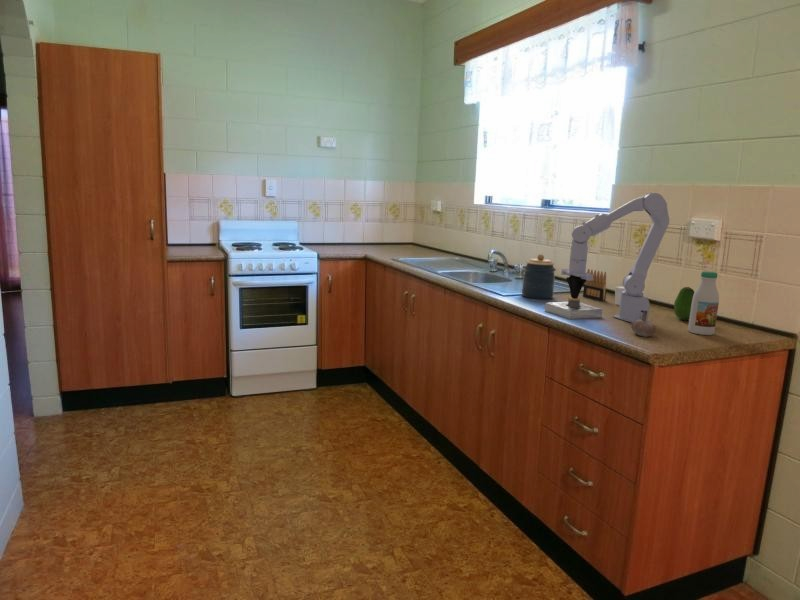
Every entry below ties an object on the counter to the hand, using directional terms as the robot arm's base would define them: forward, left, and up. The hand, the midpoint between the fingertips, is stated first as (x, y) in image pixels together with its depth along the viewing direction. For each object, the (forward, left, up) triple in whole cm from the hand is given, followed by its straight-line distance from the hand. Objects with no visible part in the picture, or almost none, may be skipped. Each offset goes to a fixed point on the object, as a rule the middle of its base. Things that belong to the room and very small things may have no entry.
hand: (574, 297), depth 211 cm
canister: (+32, -8, -6) cm, 34 cm away
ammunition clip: (+23, -30, -6) cm, 38 cm away
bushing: (0, 0, -6) cm, 6 cm away
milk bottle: (-34, -24, -6) cm, 42 cm away
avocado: (-18, -35, -6) cm, 40 cm away
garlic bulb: (-31, -2, -6) cm, 32 cm away
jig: (0, 0, -6) cm, 6 cm away
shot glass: (+10, -33, -6) cm, 35 cm away
